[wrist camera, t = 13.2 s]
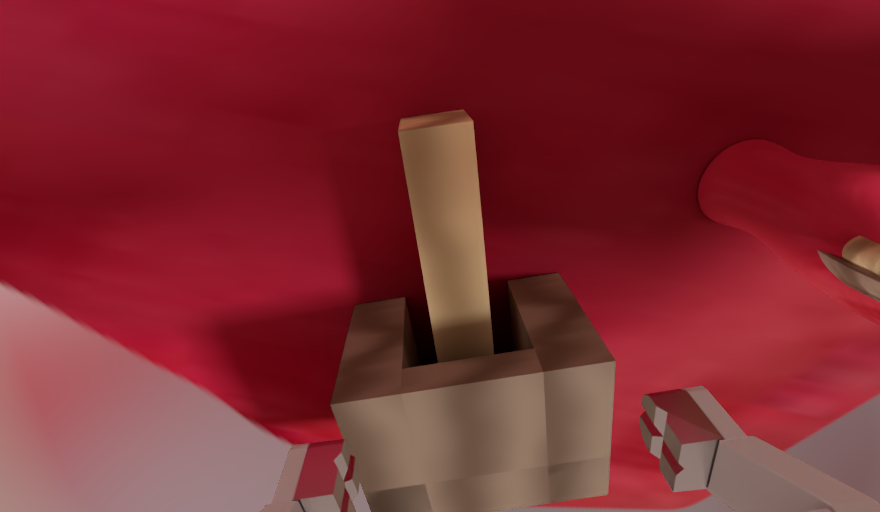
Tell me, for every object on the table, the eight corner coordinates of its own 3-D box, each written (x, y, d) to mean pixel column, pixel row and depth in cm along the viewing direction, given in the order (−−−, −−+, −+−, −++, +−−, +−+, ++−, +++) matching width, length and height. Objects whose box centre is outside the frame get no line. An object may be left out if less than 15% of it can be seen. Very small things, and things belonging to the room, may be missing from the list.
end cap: (558, 272, 31) (615, 360, 22) (561, 386, 37) (608, 494, 28) (354, 305, 32) (330, 404, 23) (387, 413, 37) (377, 528, 28)
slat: (463, 108, 26) (473, 120, 21) (485, 334, 34) (496, 376, 29) (401, 117, 26) (397, 131, 21) (438, 340, 34) (441, 384, 30)
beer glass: (676, 170, 28) (914, 278, 15) (778, 110, 27) (1144, 169, 13) (706, 244, 31) (929, 392, 17) (799, 194, 29) (1121, 313, 16)
